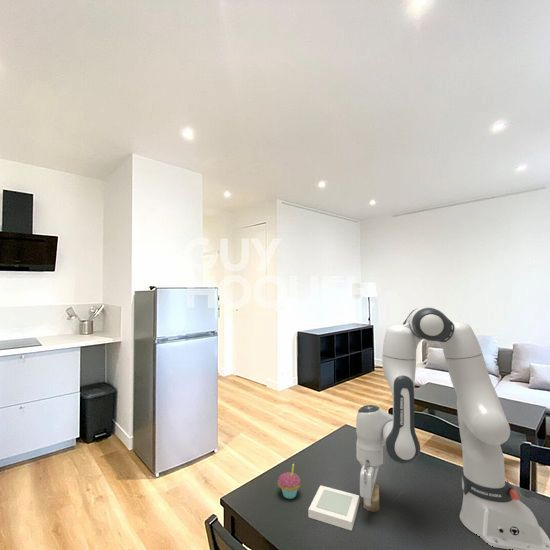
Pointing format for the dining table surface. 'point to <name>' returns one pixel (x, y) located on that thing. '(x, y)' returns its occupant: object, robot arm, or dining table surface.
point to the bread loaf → (373, 500)
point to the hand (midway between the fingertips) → (370, 496)
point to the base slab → (334, 507)
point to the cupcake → (289, 483)
